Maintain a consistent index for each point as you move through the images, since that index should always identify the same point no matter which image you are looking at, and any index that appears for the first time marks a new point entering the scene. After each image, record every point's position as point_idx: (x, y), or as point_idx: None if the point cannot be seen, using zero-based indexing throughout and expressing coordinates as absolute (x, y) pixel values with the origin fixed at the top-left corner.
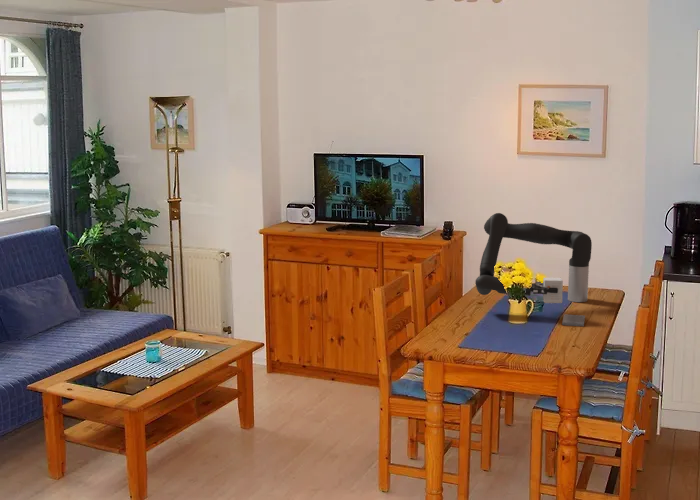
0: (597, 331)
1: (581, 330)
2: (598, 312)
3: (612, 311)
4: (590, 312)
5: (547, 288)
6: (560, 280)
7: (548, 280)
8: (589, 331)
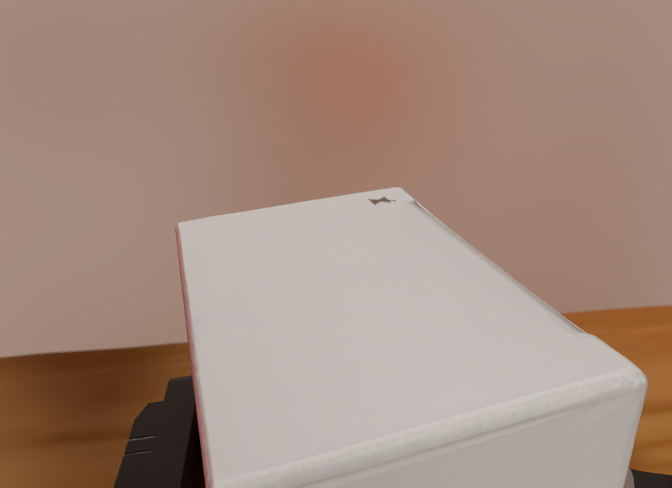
0: (600, 335)
1: (666, 401)
2: (101, 403)
3: (76, 352)
4: (100, 443)
5: (627, 474)
6: (412, 199)
7: (555, 314)
8: (642, 363)
